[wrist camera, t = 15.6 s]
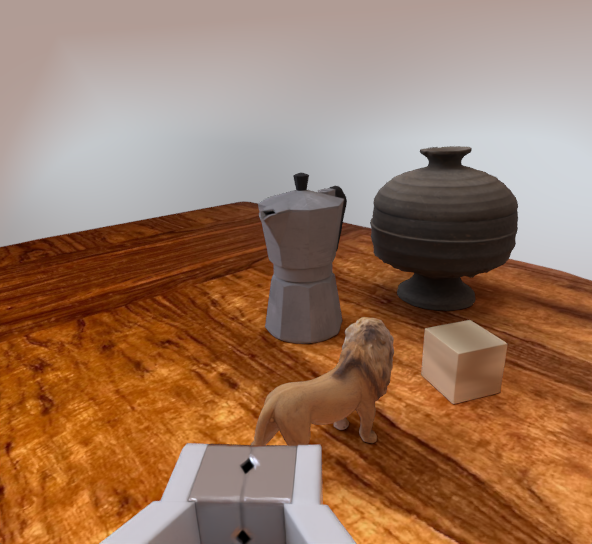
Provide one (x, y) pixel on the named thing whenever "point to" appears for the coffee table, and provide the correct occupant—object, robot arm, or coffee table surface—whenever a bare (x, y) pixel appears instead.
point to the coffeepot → (303, 261)
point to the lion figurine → (333, 390)
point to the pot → (443, 228)
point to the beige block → (463, 361)
